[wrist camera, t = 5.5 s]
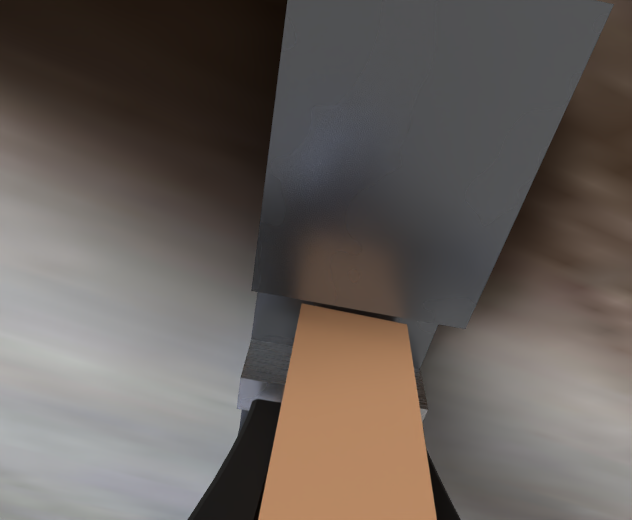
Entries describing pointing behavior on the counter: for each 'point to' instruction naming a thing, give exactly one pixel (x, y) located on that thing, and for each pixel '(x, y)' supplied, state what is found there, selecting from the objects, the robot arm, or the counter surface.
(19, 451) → the counter surface
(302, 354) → the clip
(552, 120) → the rail
